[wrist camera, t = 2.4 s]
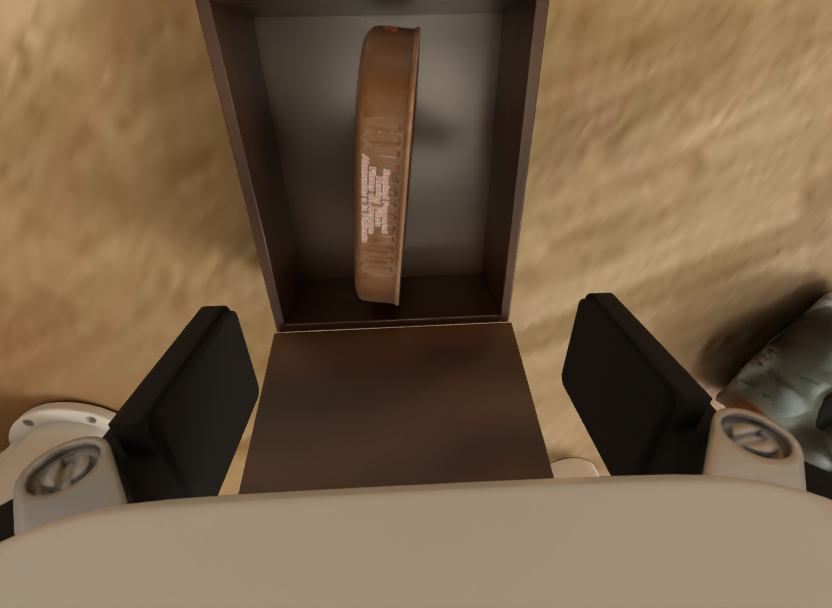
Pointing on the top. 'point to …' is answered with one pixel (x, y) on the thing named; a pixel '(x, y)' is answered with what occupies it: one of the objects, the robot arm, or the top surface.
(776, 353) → the lucky cat figurine
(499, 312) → the chest
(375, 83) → the tin
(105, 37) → the top surface
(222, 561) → the robot arm
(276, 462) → the lid
